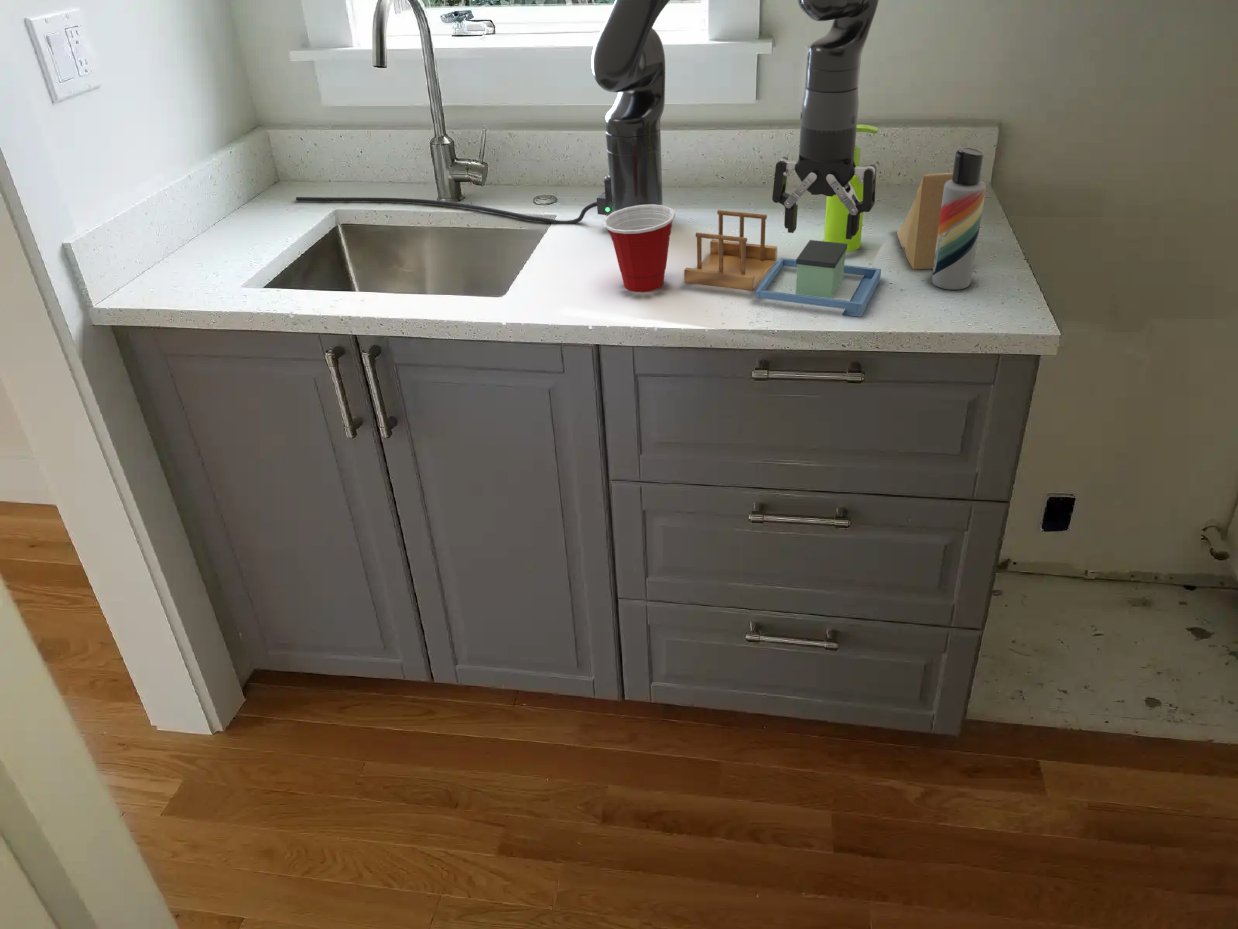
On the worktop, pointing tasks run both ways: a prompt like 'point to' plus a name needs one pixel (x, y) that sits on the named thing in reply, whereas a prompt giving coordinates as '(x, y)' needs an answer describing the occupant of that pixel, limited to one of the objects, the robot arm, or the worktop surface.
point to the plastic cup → (641, 244)
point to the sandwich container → (923, 221)
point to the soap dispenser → (838, 210)
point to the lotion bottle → (959, 222)
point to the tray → (851, 307)
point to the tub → (820, 268)
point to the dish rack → (732, 257)
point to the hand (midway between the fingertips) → (820, 234)
